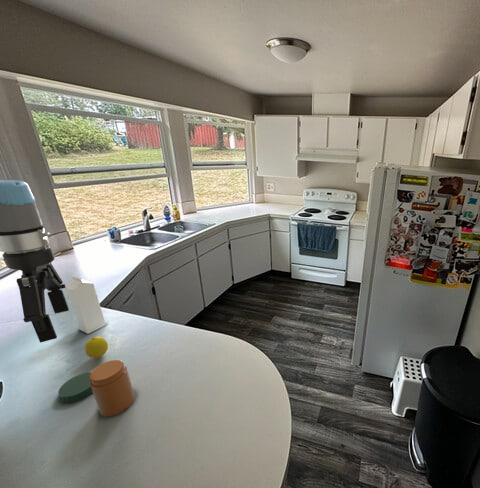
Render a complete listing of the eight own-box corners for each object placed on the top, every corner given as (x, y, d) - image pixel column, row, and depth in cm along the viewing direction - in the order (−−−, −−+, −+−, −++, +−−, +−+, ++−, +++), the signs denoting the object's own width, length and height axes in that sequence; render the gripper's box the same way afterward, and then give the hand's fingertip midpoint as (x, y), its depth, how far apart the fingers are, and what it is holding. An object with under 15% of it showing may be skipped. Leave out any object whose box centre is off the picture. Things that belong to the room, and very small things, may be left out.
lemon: (93, 353, 86) (86, 334, 83) (113, 349, 88) (107, 330, 85) (85, 365, 81) (78, 345, 78) (106, 360, 83) (100, 341, 80)
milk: (97, 321, 102) (82, 272, 95) (106, 325, 100) (91, 275, 93) (78, 329, 97) (61, 278, 90) (87, 334, 94) (70, 282, 87)
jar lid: (101, 373, 78) (99, 367, 77) (97, 393, 72) (95, 387, 71) (64, 385, 74) (62, 379, 73) (56, 408, 67) (54, 402, 66)
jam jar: (98, 422, 64) (84, 387, 60) (101, 399, 70) (89, 366, 66) (134, 406, 68) (124, 372, 64) (134, 386, 74) (125, 354, 70)
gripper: (33, 263, 51) (65, 347, 58) (62, 232, 70) (83, 298, 77) (-26, 272, 47) (16, 361, 54) (22, 236, 66) (48, 305, 73)
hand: (56, 324), depth 65 cm, fingers open, 13 cm apart
